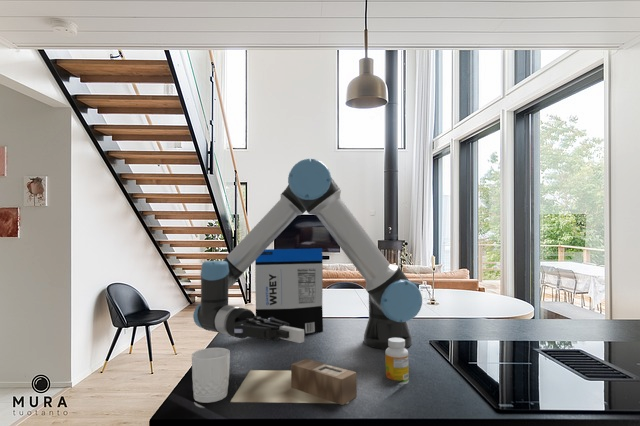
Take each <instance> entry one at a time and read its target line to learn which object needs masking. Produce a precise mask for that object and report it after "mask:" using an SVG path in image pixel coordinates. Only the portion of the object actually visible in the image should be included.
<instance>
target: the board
mask: <svg viewBox="0 0 640 426" xmlns="http://www.w3.org/2000/svg"><path fill="white" fill-rule="evenodd" d="M230 403H269V404H270V403H277V404H278V403H280V404H282V403H284V404H287V403H289V404H291V403H293V404H336V403H335V402H332V401H329V400H326V399H323V398H320V397H317V396H314V395H311V394H308V393H305V392H303V391H300V390H297V389H294V388H291V370H282V369H281V370H276V369H275V370H272V369H271V370H265V369H264V370H261V369H260V370H257V369H254V370H253V369H250V370H249V371H248V373H247V375H246V376H245V378H244V380H243V381H242V382H241V384H240V386H239V388H238V389H237V390H236V392H235V394H234V395H233V397H232V398H231V400H230ZM346 404H350V401H349V402H347V403H346Z"/></svg>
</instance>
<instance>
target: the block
mask: <svg viewBox="0 0 640 426" xmlns="http://www.w3.org/2000/svg"><path fill="white" fill-rule="evenodd" d="M290 365H291V366H290V371H291V388H294V389H297V390H300V391H303V392H305V393H308V394H311V395H314V396H317V397H320V398H323V399H326V400H329V401H332V402H335V403H334V404H338V405H341V406H344V405H346V404H348V403H347V402H349V403H350V401H353V400H354V399H355V398H357V397H358V395H357V392H358V391H357V389H358V388H357V387H358V386H357V384H358V383H357V380H358V379H357V372H356V371H353V370H349V369H345V368H342V367H339V366H336V365H335V366H334V365H332V364H326V363H323V362H319V361H316V360H312V359H309V358H305V359H302V360H299V361H296V362H294V363H291V364H290Z"/></svg>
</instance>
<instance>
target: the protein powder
mask: <svg viewBox="0 0 640 426" xmlns="http://www.w3.org/2000/svg"><path fill="white" fill-rule="evenodd" d="M254 262H255V263H254V265H255V266H254V267H255V269H254V271H255V272H254V273H255V274H254V275H255V277H254V279H255V281H254V282H255V284H254V285H255V292H254V293H255V316H258V317H261V318H264V319H267V320H268V318H269V317H274V318H275V319H278V320H281V321H284V322H287V323H289V327H294V328H299V329H304V337H305V336H311V335H316V334H318V332H319V333H323V332H324V320H323V319H324V316H323V288H324V287H323V281H324V280H323V278H324V277H323V276H324V275H323V273H324V272H323V264H324V263H323V248H283V249H282V248H277V249H275V248H271V249H267V248H266V249H265V250H264V251H263V252H262V254H261V255H260V256H259V257H258V258H257V259H256V260H255V261H254ZM278 339H280V337H278Z"/></svg>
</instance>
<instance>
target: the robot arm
mask: <svg viewBox="0 0 640 426" xmlns="http://www.w3.org/2000/svg"><path fill="white" fill-rule="evenodd" d="M287 179H288V180H287V183H288V185H287V186H286V188H285V189H284V190H283V191H282V193H280V198H279V199H278V201H277V202H276V203H275V205H273V206H272V208H270V210H269V211H268V212H267V213H266V214H265V215H264V216H263V217H262V218H261V219H260V221H259V222H258V223H257V224H256V225H254V227H253V228H252V229H251V230H250V231H249V232H248V233H247V234H246V235H245V236H244V238H243V239H241V241H239V243H238V244H237V245H236V246H235V247H234V248H233V249H232V250H231V251H230V252H229V253H228V254H227V256H225V257H224V259H223V260H207V261H204V262H202V263H201V271H200V303H199V304H198V305H197V306H196V307H195V309H194V311H193V314H192V318H193V322H194V323H195V325H196V326H197V327H199V328H201V329H203V330H205V331H209V332H215V333H218V334H219V333H220V334H222V335H227V337H229V338H231V337H234V338H237V339H246V338H251V339H252V338H254V339H260V340H261V339H262V340H269V341H270V340H271V339H273V342H275V343H276V342H279V339H281V340H286V341H290V342H294V343H298V344H301V343H304V342H305V336H304V329H299V328H294V327H289V323H287V322H284V321H281V320H278V319H275V318H274V317H269V318H268V320H267V319H264V318H261V317H258V316H256V314H255V313H254V312H253V310H251V309H249V308H244V307H240V306H233V305H229V288H231V287H233V286H234V285H235V284H236V283H237V281H238V280H239V279H240V278H241V276H243V274H244V273H245V272H246V271H247V270H248V269H249V268H250V266H251V265H253V263H254V262H255V260H256V259H257V258H258V257H259V256H260V255H261V254H262V252H263V251H264V250H265V249H267V248H269V246H270V245H271V244H272V243H273V242H274V241H275V239H277V238H278V236H280V235H281V233H282V232H283V231H284V230H285V229H286V228H287V227H289V225H290V224H291V223H292V222H293V221H294V219H296V217H297V216H301V215H303V214H304V213H305V212H307V214H308V215H311V216H312V215H314V216H316V217H317V218H318V219H319V221H320V223H321V224H322V225H323V226H324V227H325V229H326V230H327V232H328V233H329V234H330V235H331V237H332V238H333V240H334V241H335V243H337V245H338V246H339V247H340V249H341V250H342V251H343V253H344V254H345V255H346V257H347V258H348V260H350V261H349V262H351V264H352V266H354V267H355V269H356V270H357V271H358V273H359V274H360V275H361V276H362V278H363V280H364V281H365V291H366V292H367V293H368V320H367V324H366V326H365V327H366V328H365V330H364V334H363V343H364V345H366V346H368V347H370V348H373V349H379V350H380V349H381V350H386V349H387V348H388V347H389V346H388V339H389V338H402V339H404V340H405V347H404V348H405V349H408V348H409V347H411V346H412V344H413V343H412V335H411V332H410V329H409V325H408V323H407V322H409V321H411V320H413V319H414V318H415V317H417V315H418V314H419V313H420V311H421V308H422V306H423V305H422V304H423V295H422V293H421V290H420V289H419V287H418V286H417V285H416V284H415V283H414V282H412V281H410V280H409V278H408V277H407V275H406V274H405V272H404V271H402V269H401V268H400V266H399V265H397V264H392V263H390V261H388V260H387V258H386V257H385V255H384V254H383V252H382V251H381V250H380V249H379V248H378V246H377V244H376V243H375V242H374V240H373V239H372V238H371V237H370V235H369V234H368V233H367V231H366V230H365V228H364V227H363V226H362V225H361V224H360V222H359V221H358V220H357V218H356V217H355V216H354V214H353V213H352V211H351V210H350V209H349V207H348V206H347V205H346V204H345V202H344V201H343V199H342V198H341V191H342V189H341V188H340V187H339V186H338V184H337V183H336V182H335V180H334V179H333V177H332V175H331V172H330V169H329V168H328V167H327V165H326V164H325V163H323V162H322V161H321V160H319V159H315V158H306V159H302V160H300V161H298V162H297V163H295V164H294V166H293V167H291V169H290V171H289V172H288V178H287ZM278 337H280V338H278Z"/></svg>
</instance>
